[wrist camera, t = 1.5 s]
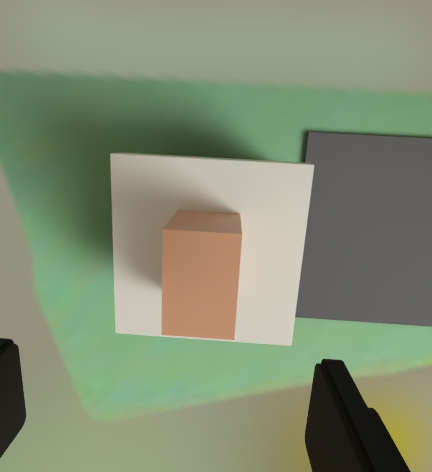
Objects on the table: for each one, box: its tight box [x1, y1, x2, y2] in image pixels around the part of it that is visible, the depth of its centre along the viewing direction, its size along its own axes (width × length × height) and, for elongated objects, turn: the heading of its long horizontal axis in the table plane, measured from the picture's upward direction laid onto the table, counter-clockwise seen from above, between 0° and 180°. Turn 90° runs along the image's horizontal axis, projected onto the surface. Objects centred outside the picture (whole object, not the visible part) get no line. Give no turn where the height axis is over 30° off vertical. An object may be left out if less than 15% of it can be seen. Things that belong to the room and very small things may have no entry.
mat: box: [295, 132, 432, 327], centre depth 30 cm, size 17×17×1 cm
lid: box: [110, 152, 314, 346], centre depth 21 cm, size 13×13×7 cm
